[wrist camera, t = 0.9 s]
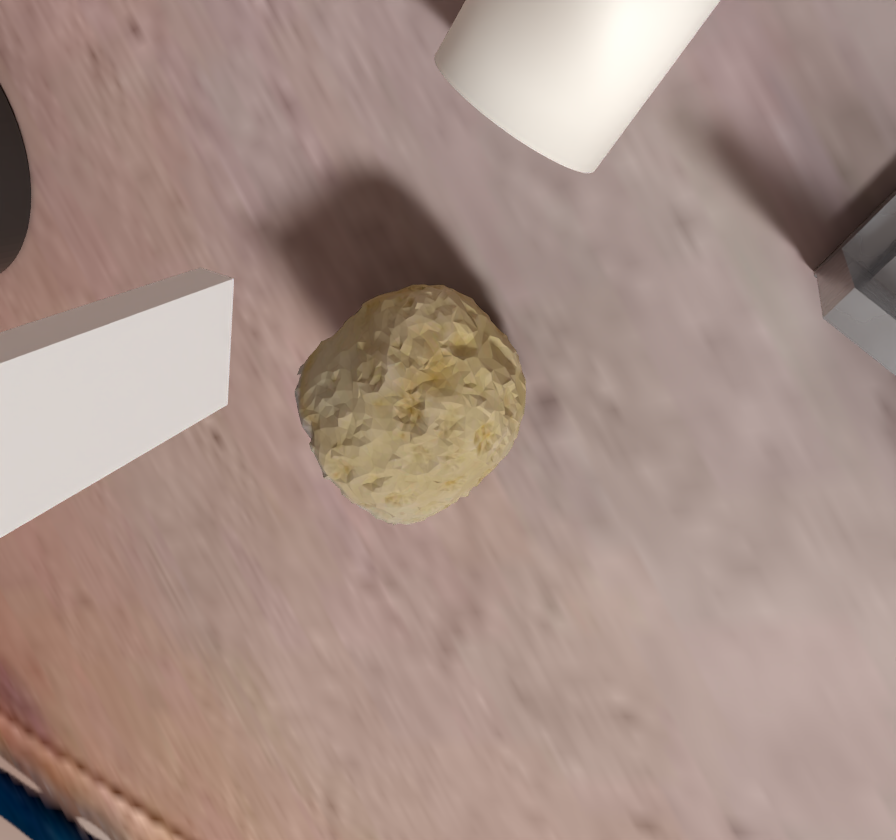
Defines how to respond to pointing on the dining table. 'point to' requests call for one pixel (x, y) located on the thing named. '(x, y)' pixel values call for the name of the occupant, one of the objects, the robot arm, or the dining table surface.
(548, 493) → the dining table surface
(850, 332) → the cradle
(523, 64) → the roll
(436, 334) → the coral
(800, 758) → the dining table surface
